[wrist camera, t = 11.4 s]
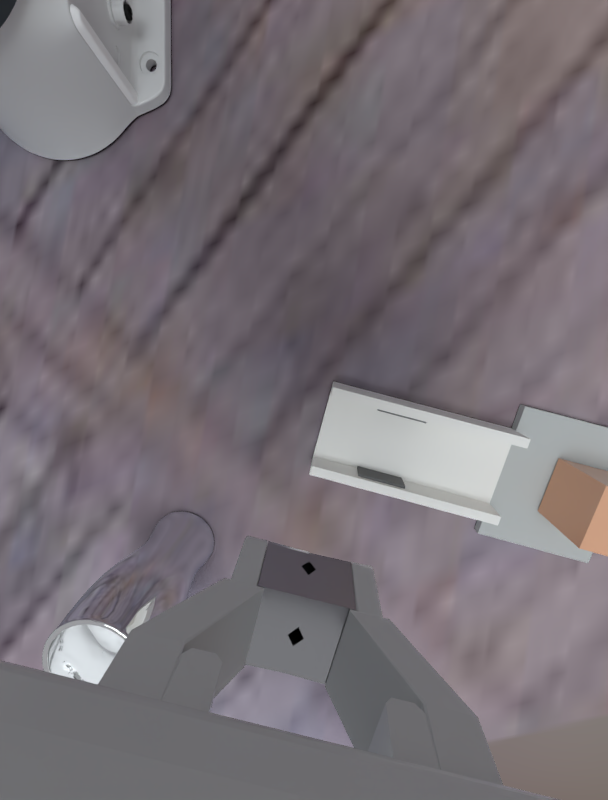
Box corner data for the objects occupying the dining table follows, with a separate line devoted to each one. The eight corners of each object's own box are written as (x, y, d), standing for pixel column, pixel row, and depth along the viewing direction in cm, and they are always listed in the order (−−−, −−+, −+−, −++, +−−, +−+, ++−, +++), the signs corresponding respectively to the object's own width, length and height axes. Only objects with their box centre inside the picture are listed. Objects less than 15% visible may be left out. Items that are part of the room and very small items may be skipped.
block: (558, 458, 34) (606, 485, 28) (617, 473, 33) (677, 504, 28) (537, 511, 35) (579, 548, 29) (594, 526, 34) (647, 567, 29)
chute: (333, 381, 35) (333, 387, 32) (511, 428, 35) (531, 439, 31) (311, 460, 36) (309, 474, 33) (482, 506, 36) (497, 525, 33)
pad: (520, 404, 34) (525, 406, 33) (635, 434, 34) (643, 437, 33) (474, 528, 36) (477, 533, 36) (581, 557, 36) (588, 563, 35)
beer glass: (139, 516, 39) (19, 631, 24) (204, 498, 38) (122, 606, 23) (164, 578, 40) (65, 726, 25) (228, 562, 39) (164, 704, 24)
